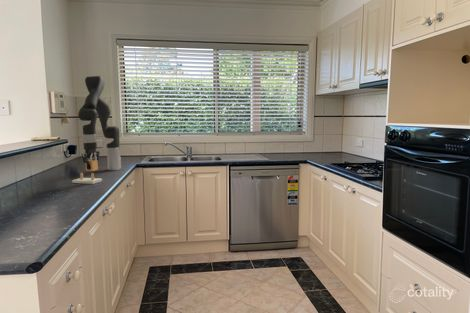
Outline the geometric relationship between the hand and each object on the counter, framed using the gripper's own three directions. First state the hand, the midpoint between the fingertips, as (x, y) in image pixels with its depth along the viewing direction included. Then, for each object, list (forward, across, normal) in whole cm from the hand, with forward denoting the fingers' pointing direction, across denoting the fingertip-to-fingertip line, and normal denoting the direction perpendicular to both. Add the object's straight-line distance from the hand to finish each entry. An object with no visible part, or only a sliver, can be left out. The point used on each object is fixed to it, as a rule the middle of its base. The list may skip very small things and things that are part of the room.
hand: (91, 168), depth 201 cm
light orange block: (+1, 0, 0) cm, 1 cm away
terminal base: (+9, 0, -4) cm, 9 cm away
